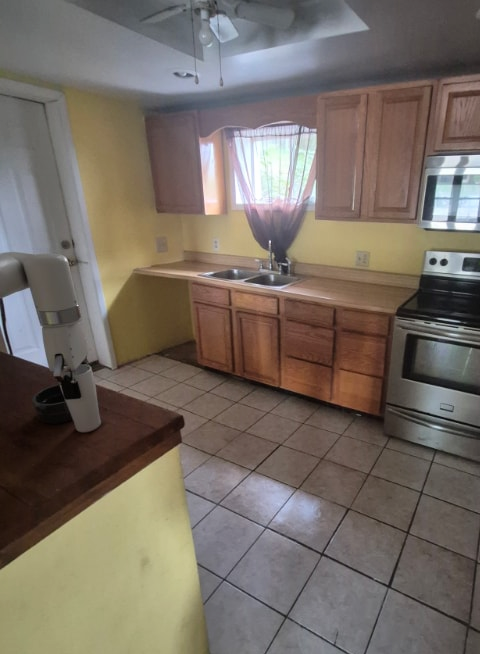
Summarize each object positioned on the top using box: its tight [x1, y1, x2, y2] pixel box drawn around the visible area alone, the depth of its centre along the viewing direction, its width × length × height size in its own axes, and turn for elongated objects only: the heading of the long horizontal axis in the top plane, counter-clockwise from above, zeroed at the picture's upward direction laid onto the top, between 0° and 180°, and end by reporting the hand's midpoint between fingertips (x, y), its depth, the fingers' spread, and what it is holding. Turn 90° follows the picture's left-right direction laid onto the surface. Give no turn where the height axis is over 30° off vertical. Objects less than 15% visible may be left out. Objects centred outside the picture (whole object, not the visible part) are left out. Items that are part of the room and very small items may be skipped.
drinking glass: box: [60, 364, 102, 433], centre depth 85 cm, size 7×7×15 cm
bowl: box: [31, 383, 73, 425], centre depth 93 cm, size 11×11×6 cm
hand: (79, 389), depth 84 cm, fingers closed on drinking glass, 6 cm apart
